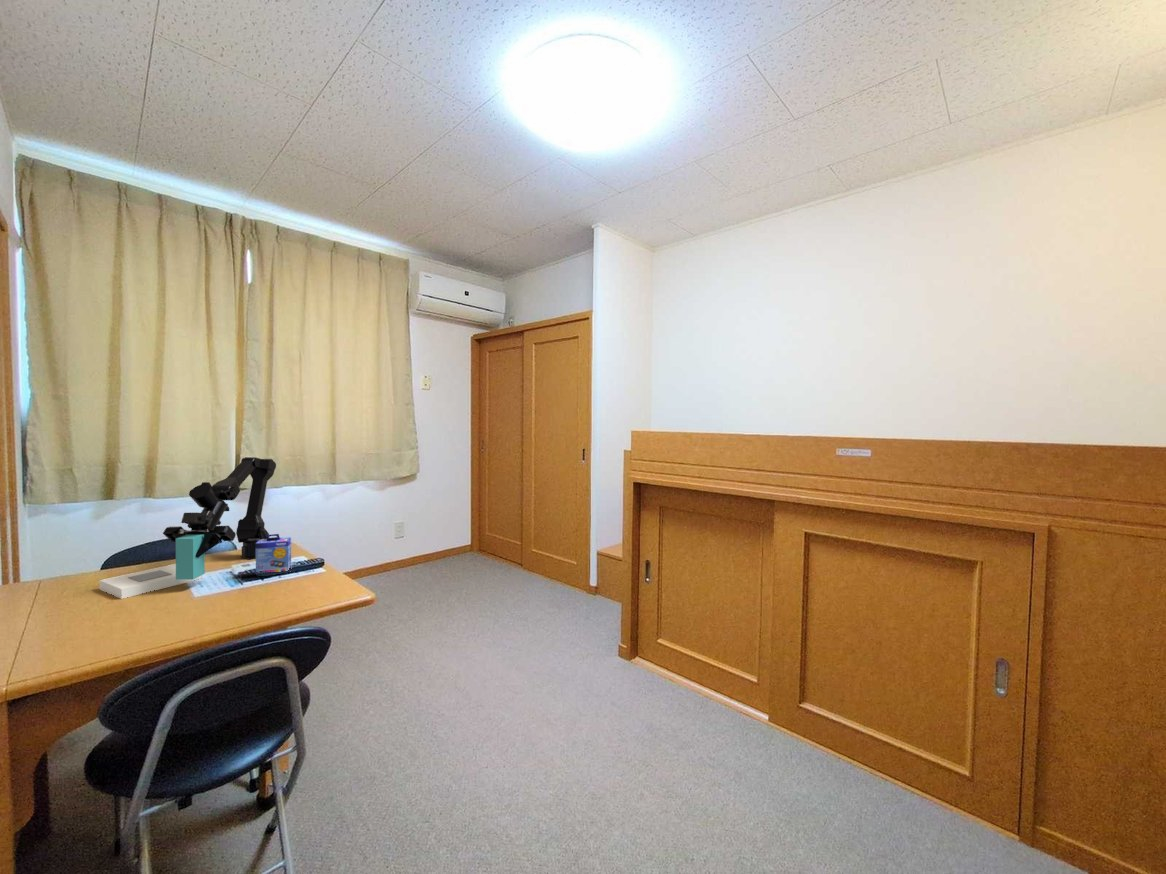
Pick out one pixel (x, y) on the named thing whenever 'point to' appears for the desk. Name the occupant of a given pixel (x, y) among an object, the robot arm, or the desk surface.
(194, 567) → the teal block
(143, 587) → the base plate
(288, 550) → the ink cartridge box
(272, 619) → the desk surface
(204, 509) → the robot arm
